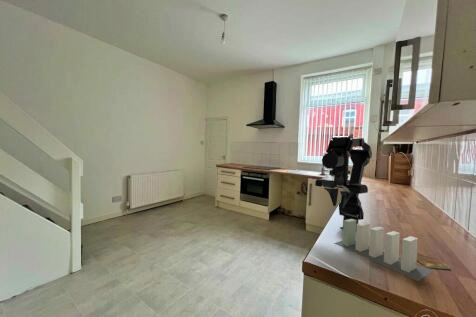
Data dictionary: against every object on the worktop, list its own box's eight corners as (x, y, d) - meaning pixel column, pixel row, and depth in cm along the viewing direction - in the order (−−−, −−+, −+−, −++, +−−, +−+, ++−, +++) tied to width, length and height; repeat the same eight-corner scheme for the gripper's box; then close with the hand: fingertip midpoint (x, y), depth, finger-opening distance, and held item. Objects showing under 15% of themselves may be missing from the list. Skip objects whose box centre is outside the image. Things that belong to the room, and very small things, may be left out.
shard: (401, 252, 72) (401, 247, 72) (425, 255, 71) (425, 249, 71) (425, 270, 61) (426, 264, 61) (454, 272, 60) (454, 266, 60)
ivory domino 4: (408, 265, 62) (410, 236, 62) (416, 268, 60) (417, 238, 60) (400, 269, 60) (402, 239, 59) (408, 272, 58) (410, 241, 58)
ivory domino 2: (376, 252, 70) (378, 226, 70) (382, 254, 68) (384, 228, 68) (368, 255, 67) (370, 228, 67) (374, 257, 66) (376, 230, 66)
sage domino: (350, 241, 77) (351, 218, 77) (355, 243, 76) (356, 220, 76) (342, 244, 75) (343, 220, 75) (347, 246, 73) (348, 221, 73)
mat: (350, 239, 81) (350, 238, 81) (433, 272, 59) (433, 271, 59) (334, 244, 76) (334, 243, 76) (418, 282, 54) (418, 281, 54)
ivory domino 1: (363, 246, 74) (364, 222, 74) (368, 248, 72) (369, 223, 72) (355, 249, 71) (356, 224, 71) (360, 251, 70) (361, 225, 69)
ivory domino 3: (391, 258, 66) (393, 230, 66) (398, 260, 64) (399, 232, 64) (383, 261, 63) (385, 233, 63) (390, 264, 62) (392, 235, 62)
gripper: (307, 166, 83) (305, 203, 84) (352, 170, 67) (349, 216, 68) (324, 166, 89) (322, 201, 90) (369, 169, 73) (367, 212, 74)
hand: (338, 207), depth 80 cm, fingers open, 3 cm apart
